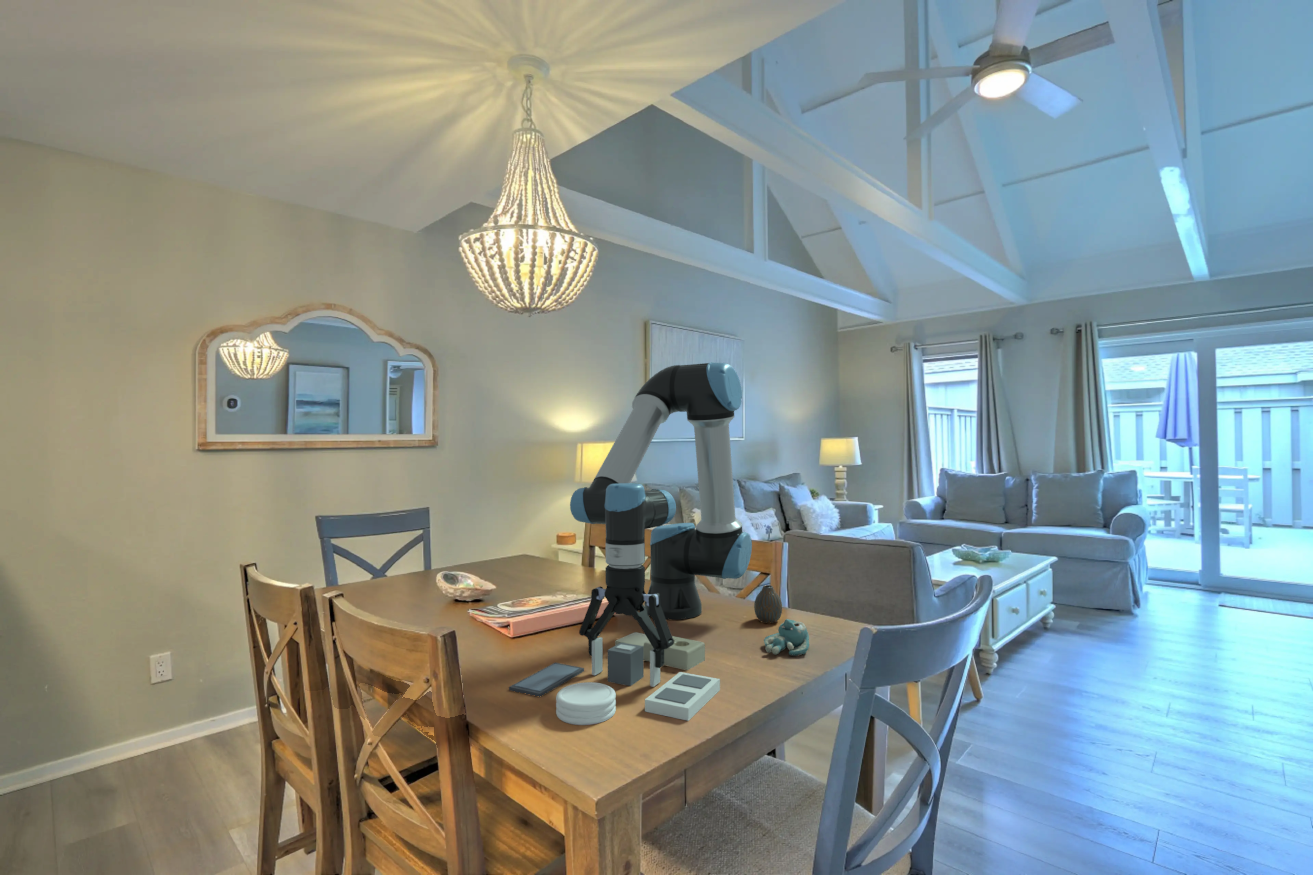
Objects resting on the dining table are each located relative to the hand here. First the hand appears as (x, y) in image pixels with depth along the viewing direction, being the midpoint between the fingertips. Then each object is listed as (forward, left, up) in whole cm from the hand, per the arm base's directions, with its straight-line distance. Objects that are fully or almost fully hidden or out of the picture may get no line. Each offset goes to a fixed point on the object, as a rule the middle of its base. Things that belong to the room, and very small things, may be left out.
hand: (625, 678), depth 120 cm
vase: (-49, +13, 0) cm, 51 cm away
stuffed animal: (-30, +23, -1) cm, 38 cm away
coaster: (+15, +1, -1) cm, 15 cm away
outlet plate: (+4, +14, 0) cm, 15 cm away
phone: (+7, -13, -1) cm, 15 cm away
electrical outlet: (-14, 0, -1) cm, 14 cm away
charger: (0, 0, 0) cm, 0 cm away
